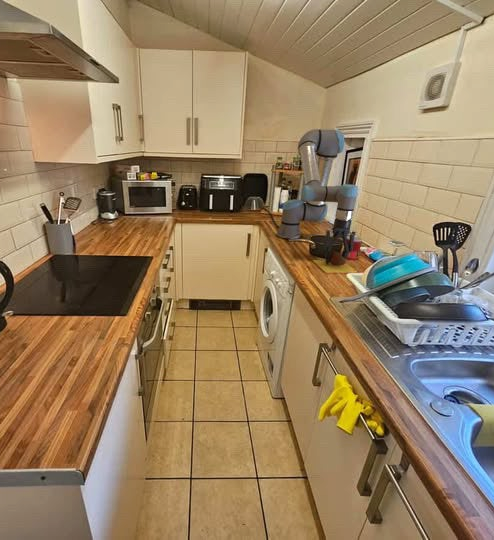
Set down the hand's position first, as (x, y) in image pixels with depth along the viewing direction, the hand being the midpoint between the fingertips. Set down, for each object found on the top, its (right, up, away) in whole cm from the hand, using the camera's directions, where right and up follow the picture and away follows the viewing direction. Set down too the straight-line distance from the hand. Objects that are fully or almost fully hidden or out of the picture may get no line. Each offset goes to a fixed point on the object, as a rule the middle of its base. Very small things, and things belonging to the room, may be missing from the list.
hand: (334, 263), depth 150 cm
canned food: (+14, +4, +13) cm, 19 cm away
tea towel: (0, -1, +1) cm, 1 cm away
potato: (0, 0, 0) cm, 0 cm away
